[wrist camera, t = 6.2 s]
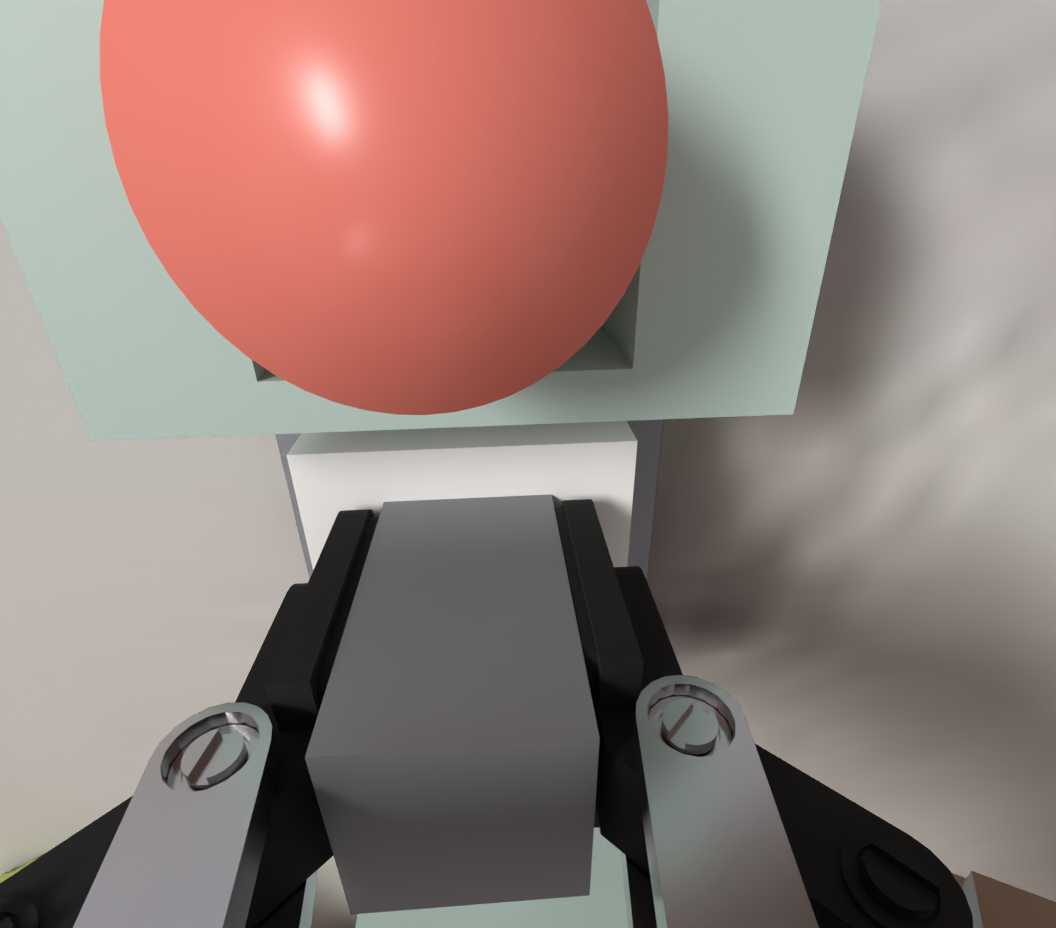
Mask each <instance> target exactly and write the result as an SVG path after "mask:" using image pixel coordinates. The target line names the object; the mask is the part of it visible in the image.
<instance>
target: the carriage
mask: <svg viewBox="0 0 1056 928" xmlns="http://www.w3.org/2000/svg"><path fill="white" fill-rule="evenodd" d="M636 453H637V439H636V437H635V435H634V434H633V432H632V430H631V428H630V426H629V425H628V423H627V421H607V422H581V423H555V424H529V425H503V426H477V427H451V428H425V429H399V430H373V431H347V432H321V433H301V435H300V436H299V438H298V439H297V441H296V442H295V444H294V445H293V446H292V448H291V449H290V451H289V452H288V454H287V455H286V456H287V460H288V464H289V468H290V473H291V477H292V481H293V486H294V490H295V494H296V499H297V503H298V507H299V512H300V516H301V520H302V524H303V529H304V533H305V537H306V542H307V546H308V550H309V555H310V559H311V563H312V568H313V570H314V568H315V566H316V563H317V561H318V559H319V556H320V554H321V552H322V549H323V547H324V545H325V542H326V540H327V538H328V535H329V533H330V531H331V528H332V526H333V524H334V521H335V519H336V517H337V515H338V513H339V511H344V510H366V509H371V510H372V511H373V514H374V517H379V519H378V522H377V526H376V529H375V532H374V535H373V539H372V542H371V545H370V548H369V551H368V555H367V558H366V561H365V564H364V568H363V571H362V574H361V577H360V581H359V584H358V587H357V590H356V594H355V597H354V600H353V603H352V606H351V610H350V613H349V616H348V619H347V623H346V626H345V629H344V632H343V636H342V639H341V642H340V645H339V649H338V652H337V655H336V658H335V661H334V665H333V668H332V671H331V674H330V678H329V681H328V684H327V687H326V691H325V694H324V697H323V700H322V704H321V707H320V710H319V713H318V717H317V720H316V723H315V726H314V729H313V733H312V736H311V739H310V742H309V746H308V749H307V752H306V755H305V760H306V763H307V767H308V770H309V774H310V777H311V780H312V784H313V787H314V791H315V794H316V797H317V801H318V804H319V807H320V811H321V814H322V818H323V821H324V824H325V828H326V831H327V835H328V838H329V841H330V845H331V848H332V851H333V855H334V858H335V862H336V865H337V868H338V872H339V875H340V879H341V882H342V885H343V889H344V892H345V895H346V899H347V902H348V906H349V909H350V912H351V915H352V914H364V913H377V912H389V911H402V910H414V909H427V908H439V907H452V906H464V905H477V904H489V903H502V902H514V901H527V900H539V899H552V898H564V897H577V896H589V895H590V881H591V865H592V850H593V834H594V819H595V803H596V788H597V772H598V757H599V741H600V737H599V732H598V727H597V722H596V717H595V712H594V707H593V702H592V697H591V692H590V687H589V682H588V677H587V671H586V666H585V661H584V656H583V651H582V646H581V641H580V636H579V631H578V626H577V621H576V616H575V611H574V606H573V601H572V596H571V591H570V586H569V581H568V575H567V570H566V565H565V560H564V555H563V550H562V545H561V540H560V535H559V530H558V525H557V520H556V515H555V510H554V508H562V501H563V500H583V499H592V501H593V503H594V506H595V509H596V512H597V516H598V519H599V522H600V525H601V528H602V531H603V535H604V538H605V541H606V544H607V547H608V550H609V554H610V557H611V560H612V563H613V566H614V567H627V565H628V552H629V540H630V528H631V515H632V503H633V491H634V478H635V466H636Z"/></svg>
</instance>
